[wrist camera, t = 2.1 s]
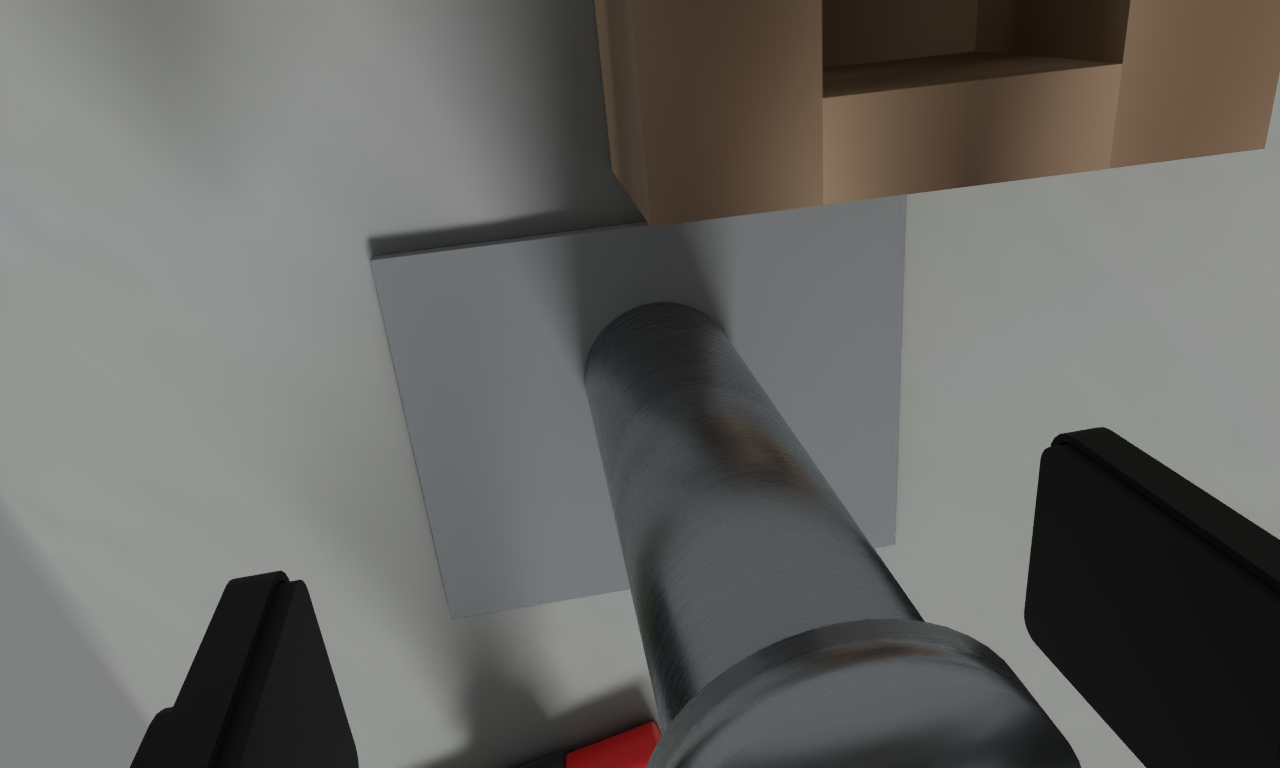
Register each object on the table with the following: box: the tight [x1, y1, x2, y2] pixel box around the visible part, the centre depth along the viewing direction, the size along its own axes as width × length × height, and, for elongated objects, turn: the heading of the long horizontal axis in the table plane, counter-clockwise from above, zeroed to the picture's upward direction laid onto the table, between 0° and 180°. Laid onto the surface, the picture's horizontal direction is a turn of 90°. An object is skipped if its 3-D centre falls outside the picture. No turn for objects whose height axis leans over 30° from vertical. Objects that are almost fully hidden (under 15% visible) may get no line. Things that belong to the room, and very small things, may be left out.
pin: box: [584, 302, 1081, 768], centre depth 12 cm, size 4×4×11 cm
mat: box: [370, 194, 907, 619], centre depth 18 cm, size 10×8×1 cm
